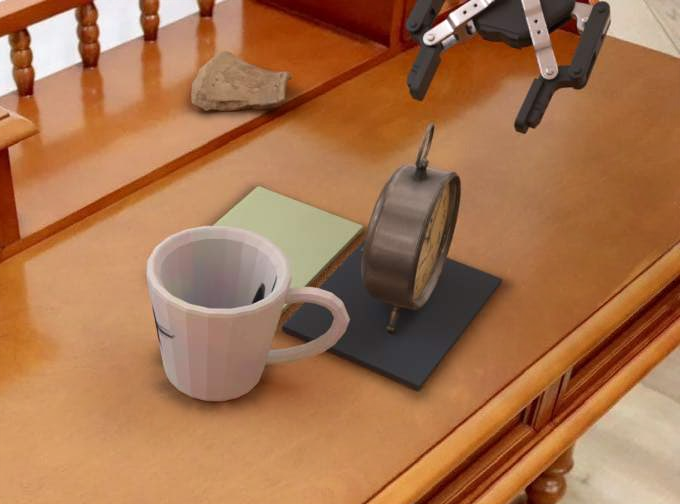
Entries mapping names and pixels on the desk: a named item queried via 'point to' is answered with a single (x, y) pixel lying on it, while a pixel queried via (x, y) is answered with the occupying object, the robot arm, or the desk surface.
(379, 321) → the slate mat
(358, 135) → the desk surface
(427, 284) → the alarm clock
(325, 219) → the sage mat
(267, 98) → the pottery shard
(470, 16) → the robot arm
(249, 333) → the mug
